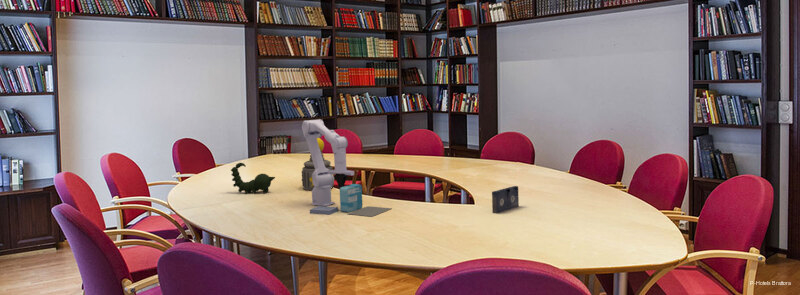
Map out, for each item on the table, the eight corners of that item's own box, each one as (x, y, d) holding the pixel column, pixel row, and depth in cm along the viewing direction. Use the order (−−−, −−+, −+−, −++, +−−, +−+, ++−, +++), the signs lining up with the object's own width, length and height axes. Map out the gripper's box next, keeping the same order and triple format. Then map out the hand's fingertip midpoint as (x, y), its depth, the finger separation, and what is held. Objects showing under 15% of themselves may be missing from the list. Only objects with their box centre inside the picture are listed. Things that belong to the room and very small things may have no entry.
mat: (347, 214, 296) (347, 213, 296) (367, 206, 311) (367, 206, 311) (372, 216, 289) (372, 216, 289) (391, 208, 304) (391, 208, 304)
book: (309, 214, 301) (309, 209, 301) (318, 210, 308) (318, 206, 308) (330, 215, 297) (329, 210, 296) (338, 212, 304) (337, 207, 304)
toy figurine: (232, 197, 358) (274, 193, 354) (227, 165, 356) (269, 160, 352) (238, 194, 367) (279, 190, 364) (233, 162, 365) (275, 157, 362)
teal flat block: (347, 213, 299) (346, 188, 298) (340, 212, 302) (339, 187, 300) (362, 208, 309) (361, 184, 308) (355, 207, 311) (354, 183, 310)
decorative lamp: (297, 191, 361) (295, 139, 357) (308, 185, 379) (305, 136, 376) (329, 191, 358) (326, 138, 354) (338, 185, 376) (335, 135, 373)
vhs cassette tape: (514, 206, 301) (514, 185, 300) (519, 206, 299) (519, 186, 298) (491, 212, 288) (490, 191, 287) (496, 213, 286) (496, 192, 285)
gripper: (357, 161, 305) (358, 188, 307) (333, 160, 312) (334, 186, 314) (348, 163, 299) (350, 191, 300) (324, 162, 306) (325, 189, 308)
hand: (341, 189), depth 307 cm, fingers closed
